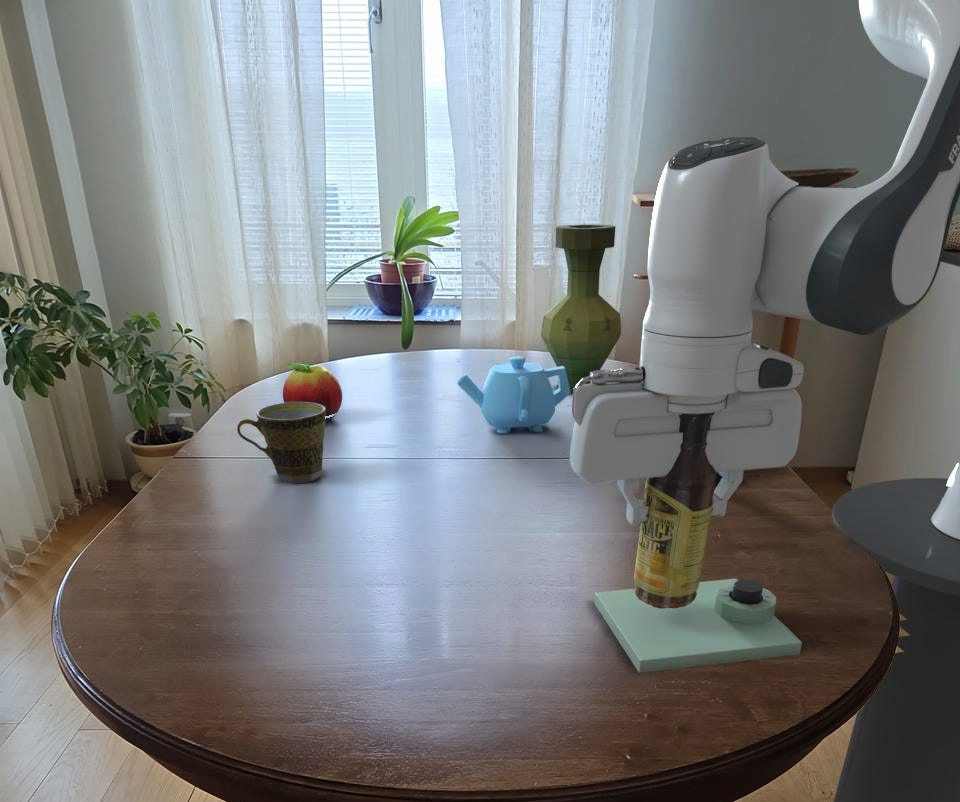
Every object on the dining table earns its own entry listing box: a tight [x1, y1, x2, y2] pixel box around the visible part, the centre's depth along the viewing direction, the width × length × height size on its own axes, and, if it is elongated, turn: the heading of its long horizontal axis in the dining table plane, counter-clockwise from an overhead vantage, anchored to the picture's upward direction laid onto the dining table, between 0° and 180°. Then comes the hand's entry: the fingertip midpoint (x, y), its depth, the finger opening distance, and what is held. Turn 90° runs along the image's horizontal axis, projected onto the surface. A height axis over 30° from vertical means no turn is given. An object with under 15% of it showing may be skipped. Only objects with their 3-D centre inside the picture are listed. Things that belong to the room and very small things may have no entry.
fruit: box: [282, 362, 343, 423], centre depth 149 cm, size 11×11×10 cm
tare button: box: [732, 579, 764, 605], centre depth 81 cm, size 3×3×2 cm
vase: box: [540, 223, 622, 395], centre depth 161 cm, size 16×16×30 cm
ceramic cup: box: [236, 402, 326, 484], centre depth 121 cm, size 13×10×10 cm
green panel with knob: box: [593, 578, 803, 674], centre depth 81 cm, size 16×14×3 cm
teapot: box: [456, 356, 571, 434], centre depth 143 cm, size 20×17×12 cm
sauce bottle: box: [633, 412, 716, 609], centre depth 75 cm, size 6×6×20 cm
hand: (675, 518), depth 76 cm, fingers closed on sauce bottle, 6 cm apart
